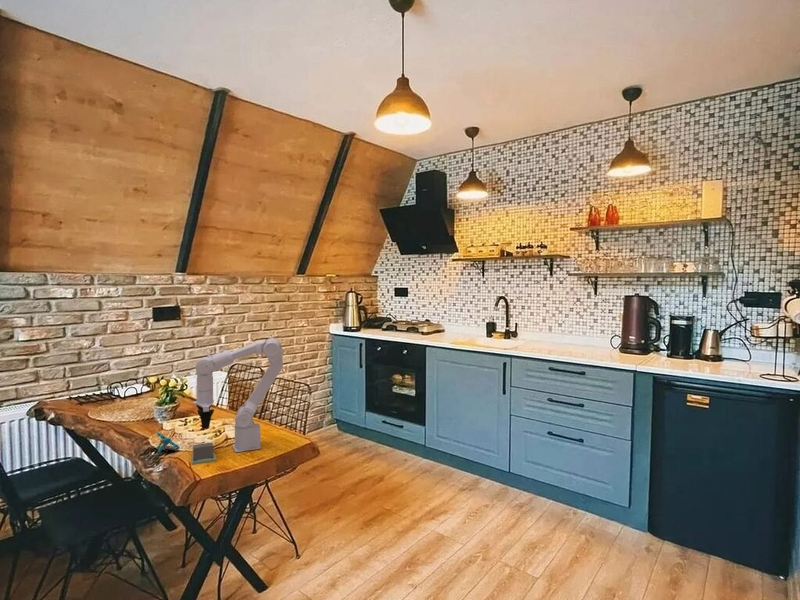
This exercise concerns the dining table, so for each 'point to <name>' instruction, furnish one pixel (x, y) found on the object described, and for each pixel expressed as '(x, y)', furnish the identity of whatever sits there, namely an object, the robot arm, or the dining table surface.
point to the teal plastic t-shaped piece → (165, 442)
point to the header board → (203, 460)
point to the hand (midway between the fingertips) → (205, 424)
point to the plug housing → (202, 451)
